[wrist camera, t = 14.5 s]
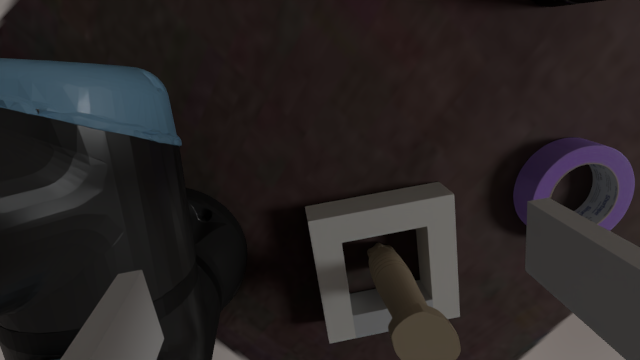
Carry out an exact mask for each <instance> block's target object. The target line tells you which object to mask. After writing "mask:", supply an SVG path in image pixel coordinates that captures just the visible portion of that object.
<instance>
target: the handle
mask: <svg viewBox="0 0 640 360" xmlns="http://www.w3.org/2000/svg"><path fill="white" fill-rule="evenodd" d="M367 254H368V257H369V261H368V264H369V269H370V273H371V276H372V279H373V282H374V284H375V287H376V289H377V291H378V293H379V294H380V296H381V298H382V300H383V302H384V303H385V305H386V307H387V309H388V311H389V313H390V315H391V316H392V319H391V321H390V323H389V326H388V330H389V334H390V338H391V341H392V344H393V347H394V350H395V352H396V354H397V355H398V356H399V358H400V359H401V360H456V359H457V357H458V356H459V354H460V352H461V348H460V343H459V338H458V335H457V333H456V331H455V329H454V328H453V326H452V325H451V323H450V322H449V321H448V319H447V318H446V317H445V316H444V315H443V314H442V313H441V312H440V311H439V310H437V309H435V308H433V307H430V306H428V305H427V303H426V301H425V299H424V297H423V295H422V293H421V291H420V289H419V287H418V285H417V283H416V281H415V279H414V277H413V275H412V273H411V272H410V270H409V269H408V267H407V265H406V264H405V263H404V261H403V260H402V259H401V257H400V256H399V255H398V254H397V253H396V251H395V250H394V249H393V247H391V246H390V245H383V244H381V243H376V244H375V246H374V247H372V248H370V249H368V251H367Z"/></svg>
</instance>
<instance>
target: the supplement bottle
mask: <svg viewBox="0 0 640 360" xmlns="http://www.w3.org/2000/svg"><path fill="white" fill-rule="evenodd" d="M532 1H534V2H535V3H537V4H539V5H541V6H545V7H556V6H565V5H573V4H580V3H588V2H596V1H604V0H532Z"/></svg>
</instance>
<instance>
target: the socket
mask: <svg viewBox="0 0 640 360" xmlns="http://www.w3.org/2000/svg"><path fill="white" fill-rule="evenodd" d="M305 211H306V217H307V222H308V228H309V233H310V239H311V245H312V250H313V256H314V261H315V267H316V272H317V278H318V284H319V289H320V295H321V300H322V306H323V312H324V317H325V323H326V328H327V333H328V338H329V343H335V342H339V341H344V340H349V339H354V338H359V337H364V336H368V335H373V334H378V333H383V332H388V331H389V330H388V326H389V323H390V321H391V319H392V316H391V315H390V313H389V311H388V309H387V307H386V305H385V303H384V302H383V300H382V298H381V296H380V294H379V293H378V291H377V289H372V290H367V291H362V292H357V293H352V294H349V288H348V281H347V275H346V268H345V261H344V255H343V248H342V243H343V242H348V241H354V240H359V239H364V238H369V237H374V236H380V235H385V234H390V233H395V232H400V231H405V230H411V229H416V237H417V249H418V261H419V274H420V280H417V281H416V283H417V285H418V287H419V289H420V291H421V293H422V295H423V297H424V299H425V301H426V303H427V305H428V306H430V307H433V308H435V309H437V310H439V311H440V312H441V313H442V314H443V315H444V316H445V317H446V318H447V319H450V318H455V317H460V309H459V288H458V266H457V245H456V224H455V202H454V194H453V193H452V192H451V191H450V190H448V189H447V188H446V187H445V186H443V185H442V184H441V183H440V182H434V183H429V184H423V185H418V186H413V187H407V188H402V189H396V190H391V191H386V192H380V193H375V194H370V195H364V196H359V197H353V198H348V199H343V200H337V201H332V202H327V203H321V204H316V205H311V206H305Z"/></svg>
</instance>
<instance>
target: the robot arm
mask: <svg viewBox="0 0 640 360" xmlns="http://www.w3.org/2000/svg"><path fill="white" fill-rule="evenodd" d="M181 145H182V143H181V139H180V138H179V137H178V136H177V135H176V130H175V125H174V120H173V116H172V111H171V106H170V101H169V97H168V93H167V91H166V88H165V86H164V85H163V83H162V82H161V81H160V80H159V79H158V78H157V77H156V76H155V75H153V74H152V73H150V72H148V71H146V70H143V69H140V68H135V67H127V66H116V65H104V64H90V63H76V62H61V61H43V60H26V59H6V58H0V346H1V349H2V352H3V355H4V358H5V360H212V355H213V350H214V345H215V339H216V334H217V328H218V323H219V317H220V312H221V311H222V310H223V308H224V307H225V306H226V305H227V304H228V303H229V302H230V301H231V300H232V298H233V297H234V296H235V294H236V293H237V291H238V289H239V288H240V286H241V283H242V281H243V278H244V274H245V269H246V261H247V245H246V240H245V236H244V233H243V231H242V229H241V226H240V225H239V223H238V221H237V220H236V218H235V217H234V216H233V214H232V213H231V212H230V211H229V210H228V209H227V208H226V207H225V206H223V205H222V204H221V203H220V202H218V201H217V200H215V199H213V198H212V197H210V196H208V195H206V194H204V193H201V192H198V191H195V190H192V189H187V188H186V187H185V180H184V174H183V167H182V161H181V154H180V148H179V146H181ZM525 271H526V272H528V273H529V274H530V275H531V276H532V277H533V278H534V279H536V280H537V281H538V282H539V283H540V284H541V285H542V286H543V287H545V288H546V289H547V290H548V291H549V292H550V293H551V294H552V295H554V296H555V297H556V298H557V299H558V300H559V301H560V302H561V303H563V304H564V305H565V306H566V307H567V308H568V309H569V310H570V311H572V312H573V313H574V314H575V315H576V316H577V317H578V318H580V319H581V320H582V321H583V322H584V323H585V324H586V325H587V326H589V327H590V328H591V329H592V330H593V331H594V332H595V333H596V334H598V335H599V336H600V337H601V338H602V339H603V340H605V341H606V342H607V343H608V344H609V345H610V346H611V347H612V348H613V349H615V350H616V351H617V352H618V353H619V354H620V355H622V357H624V358H625V359H626V360H640V247H638V246H636V245H634V244H632V243H630V242H629V241H627V240H625V239H623V238H621V237H620V236H618V235H616V234H614V233H612V232H610V231H609V230H607V229H605V228H603V227H601V226H599V225H598V224H596V223H594V222H592V221H590V220H589V219H587V218H585V217H583V216H581V215H579V214H578V213H576V212H574V211H572V210H570V209H568V208H567V207H565V206H563V205H561V204H559V203H558V202H556V201H554V200H552V199H550V198H543V199H537V200H532V201H527V229H526V261H525Z"/></svg>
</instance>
